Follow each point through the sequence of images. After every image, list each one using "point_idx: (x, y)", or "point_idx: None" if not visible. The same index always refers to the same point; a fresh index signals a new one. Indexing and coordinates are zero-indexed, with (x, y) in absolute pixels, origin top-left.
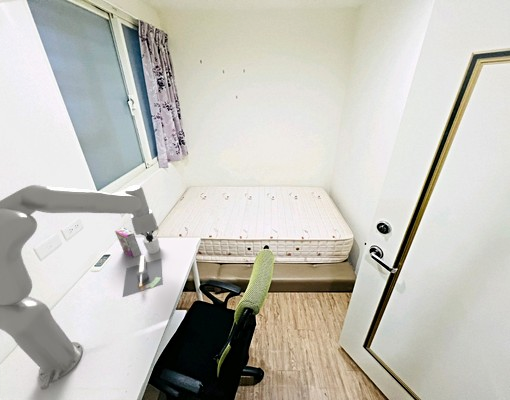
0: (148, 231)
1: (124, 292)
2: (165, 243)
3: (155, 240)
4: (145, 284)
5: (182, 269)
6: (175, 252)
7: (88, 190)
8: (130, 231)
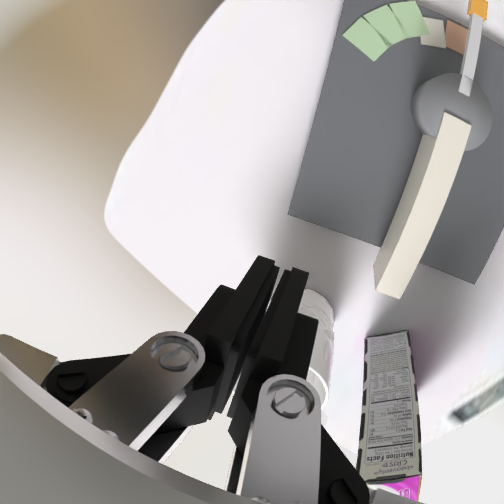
0: (82, 448)
1: None
2: None
3: None
4: (442, 55)
5: (211, 44)
6: (201, 218)
7: None
8: None
